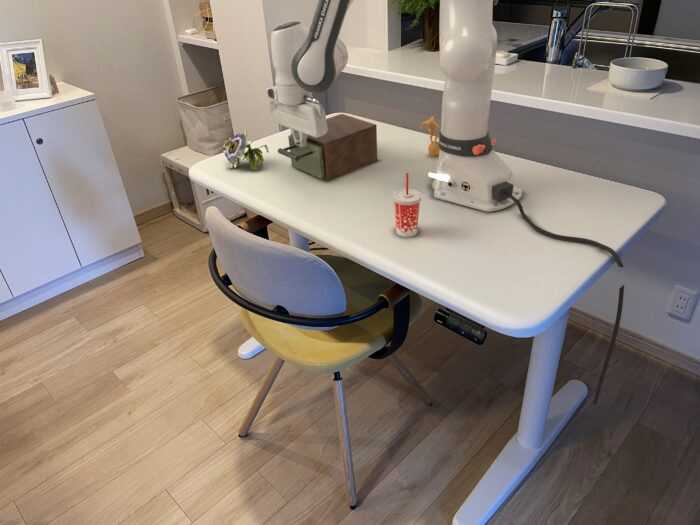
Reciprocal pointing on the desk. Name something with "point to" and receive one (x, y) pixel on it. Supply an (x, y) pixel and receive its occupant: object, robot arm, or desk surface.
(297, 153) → the drawer
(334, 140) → the cabinet
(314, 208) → the desk surface
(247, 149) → the passion flower
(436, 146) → the figurine
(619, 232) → the desk surface
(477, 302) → the desk surface
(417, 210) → the beverage cup
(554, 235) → the robot arm
